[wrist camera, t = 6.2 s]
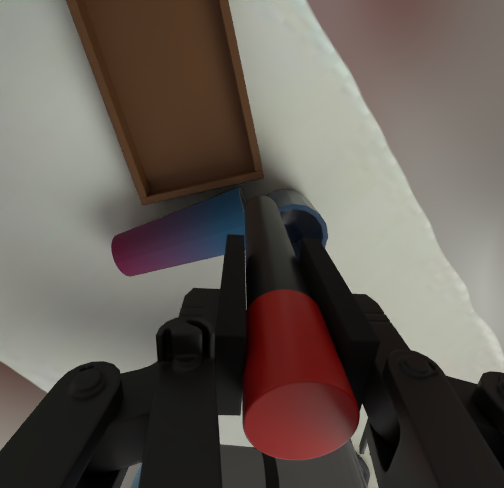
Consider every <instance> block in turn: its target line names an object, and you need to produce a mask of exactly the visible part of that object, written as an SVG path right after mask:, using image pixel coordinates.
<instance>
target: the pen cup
mask: <svg viewBox="0 0 504 488" xmlns="http://www.w3.org/2000/svg"><path fill="white" fill-rule="evenodd" d="M266 196H267V197H269V198H271V199H272V200H274V202H275V203H276V205H277V207H278V210H279V213H280V215H281V218H282V221H283V223H284V226H285V229H286V231H287V234H288V237H289V240H290V242H291V245H292V248H293V250H294V253H295V256H296V258H297V261H298V263H299V256H300V249H301V242H302V238H310V239H319V240H320V241H321V243H322V245H323V246H324V248H325V246H326V243H327V239H328V233H327V226H326V223H325V221H324V220H323V218H322V217H321V215H320V214H319V213H318V211H317V210H316V209H315V208H314V206H313V205H312V204H311V203H310V201H309V200H308V199H307V198H306V197H305V196H304V195H302V194H301V193H299V192H297V191H295V190H291V189H280V190H276V191H273V192H271V193H269V194H268V195H266Z"/></svg>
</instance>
